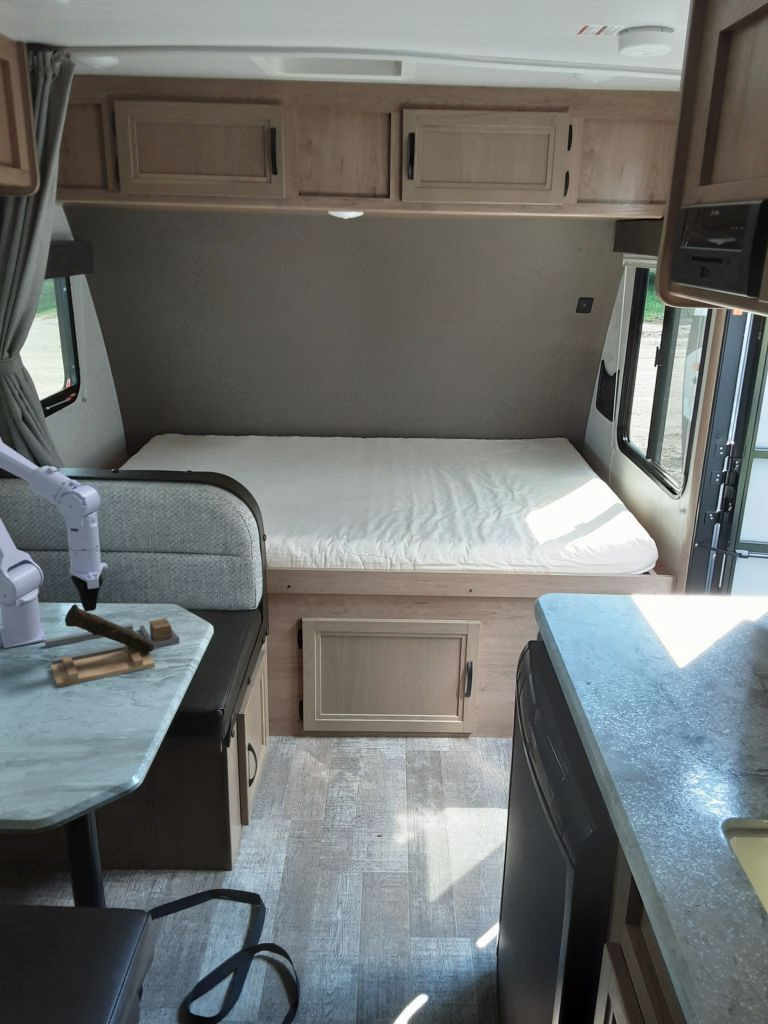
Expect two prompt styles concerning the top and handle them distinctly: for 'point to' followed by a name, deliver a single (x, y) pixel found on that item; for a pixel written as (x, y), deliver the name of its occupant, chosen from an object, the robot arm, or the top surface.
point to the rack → (100, 666)
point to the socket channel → (81, 638)
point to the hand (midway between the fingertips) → (89, 609)
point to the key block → (160, 629)
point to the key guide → (160, 642)
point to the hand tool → (106, 629)
